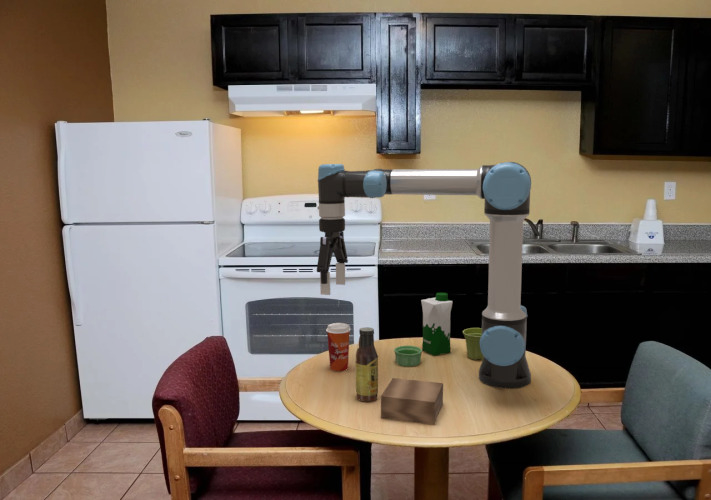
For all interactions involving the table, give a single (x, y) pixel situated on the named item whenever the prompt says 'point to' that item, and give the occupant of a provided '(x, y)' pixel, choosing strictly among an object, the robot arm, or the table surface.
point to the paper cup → (338, 345)
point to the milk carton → (436, 324)
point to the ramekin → (408, 355)
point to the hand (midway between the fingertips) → (333, 289)
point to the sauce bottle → (366, 367)
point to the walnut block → (412, 401)
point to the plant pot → (473, 342)
